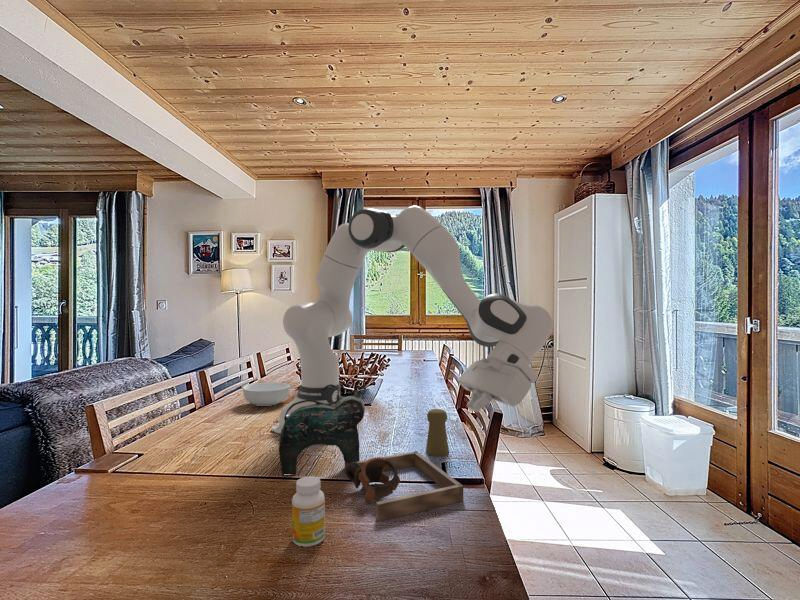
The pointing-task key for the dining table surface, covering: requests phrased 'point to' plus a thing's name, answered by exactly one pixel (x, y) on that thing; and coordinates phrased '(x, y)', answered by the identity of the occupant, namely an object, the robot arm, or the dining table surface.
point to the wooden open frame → (424, 500)
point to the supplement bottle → (308, 512)
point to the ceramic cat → (321, 429)
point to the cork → (437, 433)
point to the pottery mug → (373, 477)
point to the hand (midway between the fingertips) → (471, 409)
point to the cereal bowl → (266, 393)
